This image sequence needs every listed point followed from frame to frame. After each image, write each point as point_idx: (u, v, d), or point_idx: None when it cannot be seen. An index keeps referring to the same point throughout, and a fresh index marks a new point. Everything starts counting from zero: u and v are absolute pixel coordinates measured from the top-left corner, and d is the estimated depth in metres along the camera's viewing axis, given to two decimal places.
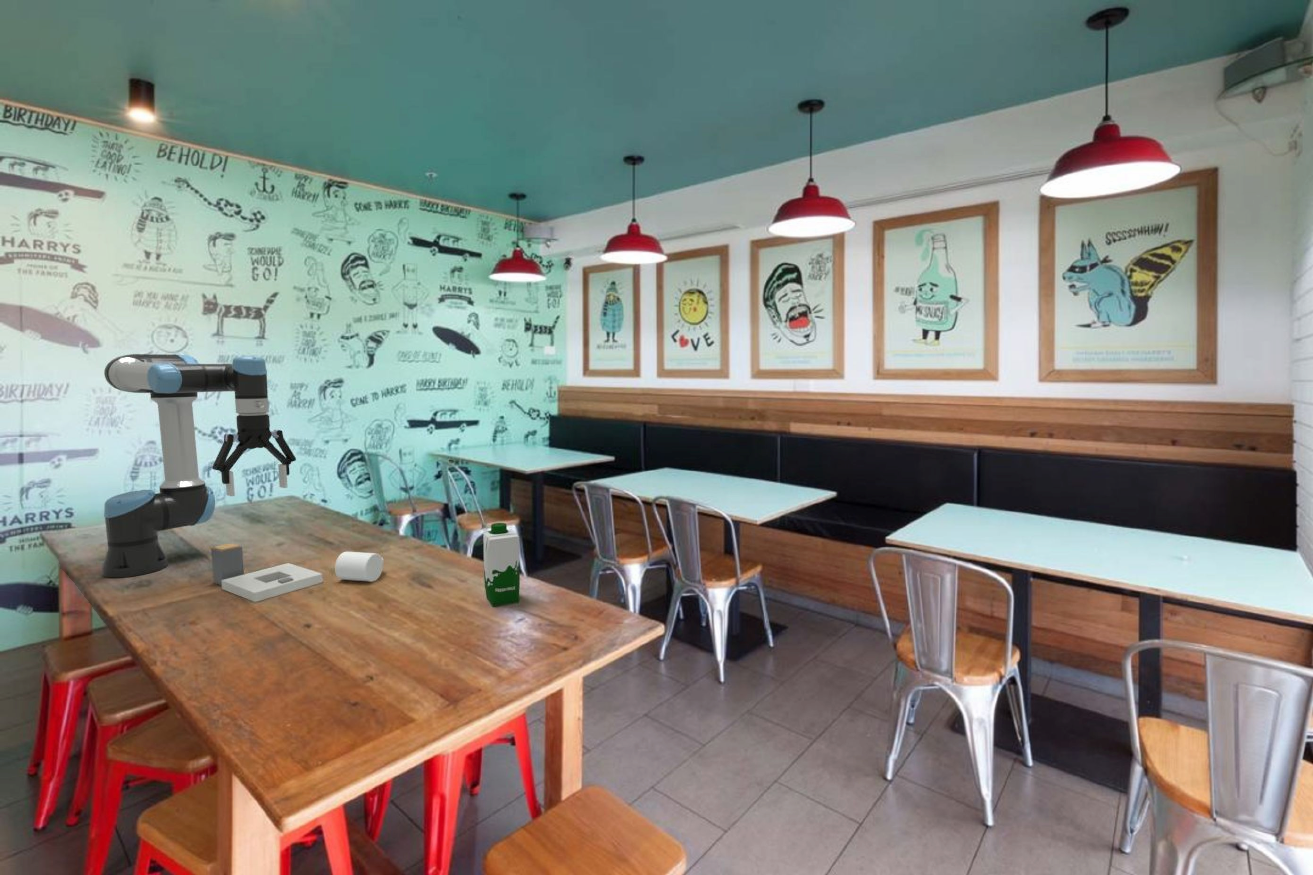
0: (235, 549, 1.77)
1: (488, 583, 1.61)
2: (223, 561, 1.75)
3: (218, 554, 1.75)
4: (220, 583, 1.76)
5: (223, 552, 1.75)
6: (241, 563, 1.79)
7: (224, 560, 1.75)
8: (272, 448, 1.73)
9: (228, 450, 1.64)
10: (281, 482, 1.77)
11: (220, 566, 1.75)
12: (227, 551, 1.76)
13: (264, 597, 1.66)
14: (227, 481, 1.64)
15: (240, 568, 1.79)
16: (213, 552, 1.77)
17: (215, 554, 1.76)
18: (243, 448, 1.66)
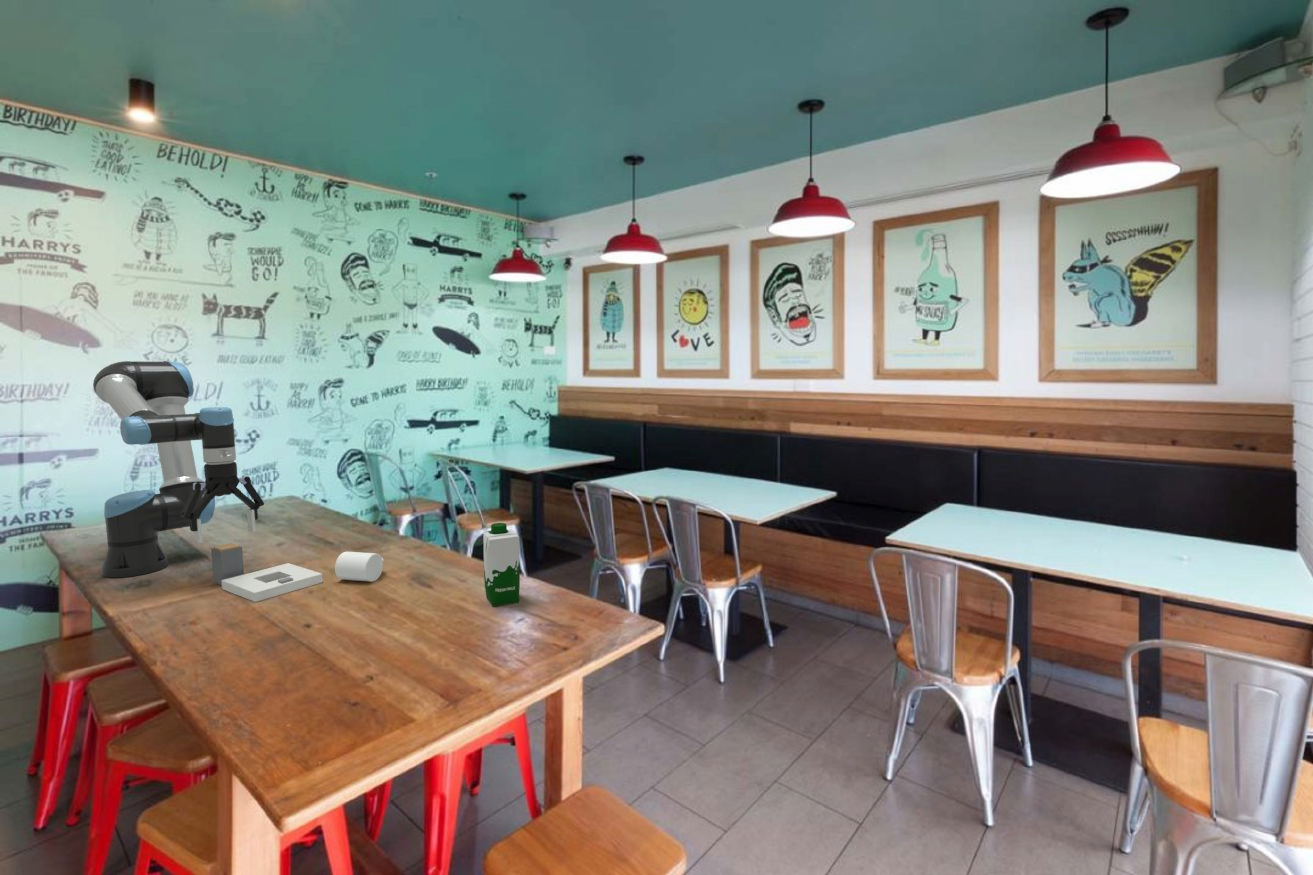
0: (235, 549, 1.77)
1: (488, 583, 1.61)
2: (223, 561, 1.75)
3: (218, 554, 1.75)
4: (220, 583, 1.76)
5: (223, 552, 1.75)
6: (241, 563, 1.79)
7: (224, 560, 1.75)
8: (240, 494, 1.79)
9: (195, 499, 1.69)
10: (250, 526, 1.83)
11: (220, 566, 1.75)
12: (227, 551, 1.76)
13: (264, 597, 1.66)
14: (195, 528, 1.70)
15: (240, 568, 1.79)
16: (213, 552, 1.77)
17: (215, 554, 1.76)
18: (210, 496, 1.72)
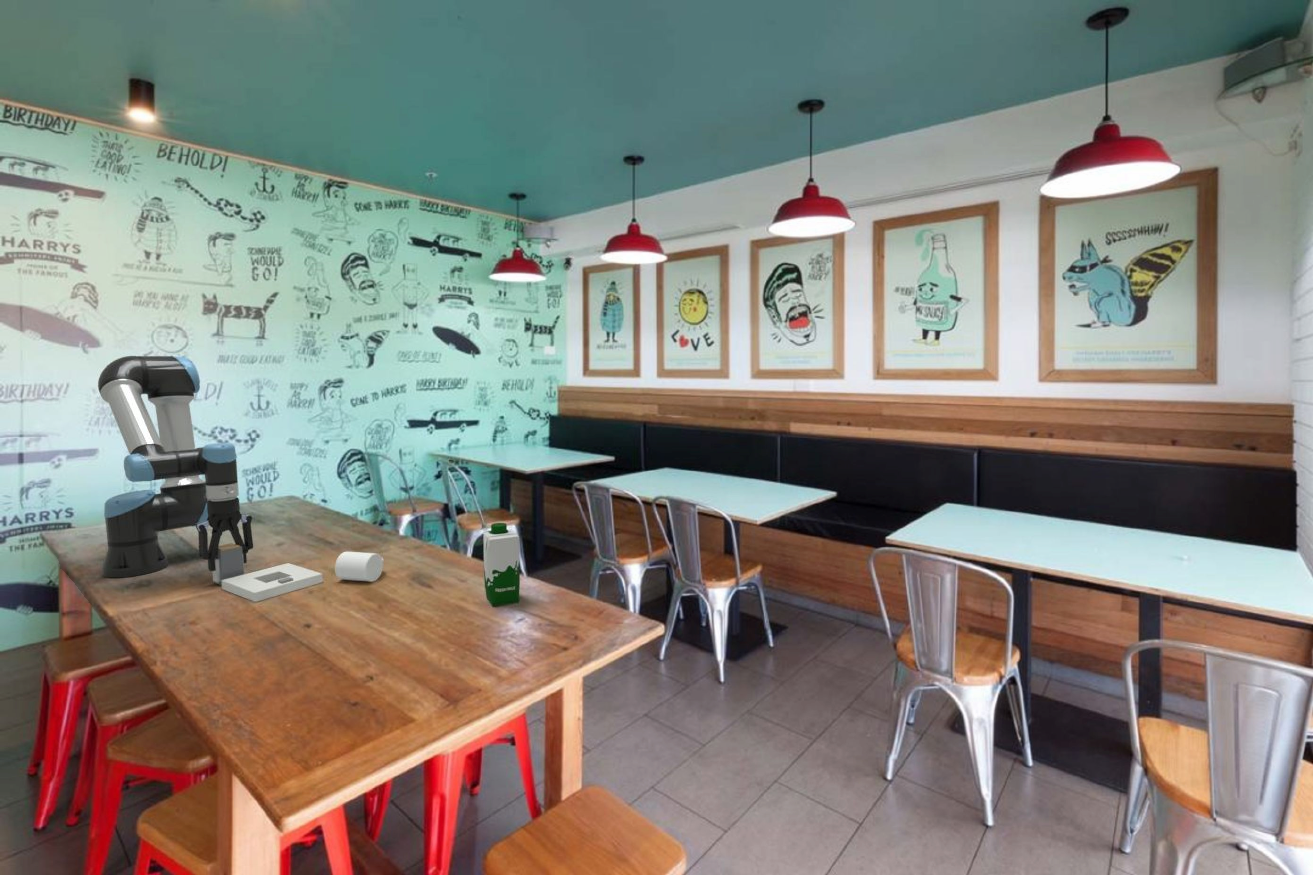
0: (235, 549, 1.77)
1: (488, 583, 1.61)
2: (223, 561, 1.75)
3: (218, 553, 1.75)
4: (220, 583, 1.76)
5: (223, 552, 1.75)
6: (241, 563, 1.79)
7: (224, 560, 1.75)
8: (236, 533, 1.79)
9: (206, 539, 1.72)
10: None
11: (220, 566, 1.75)
12: (227, 551, 1.76)
13: (264, 597, 1.66)
14: (213, 568, 1.75)
15: (240, 568, 1.79)
16: None
17: None
18: (218, 534, 1.75)
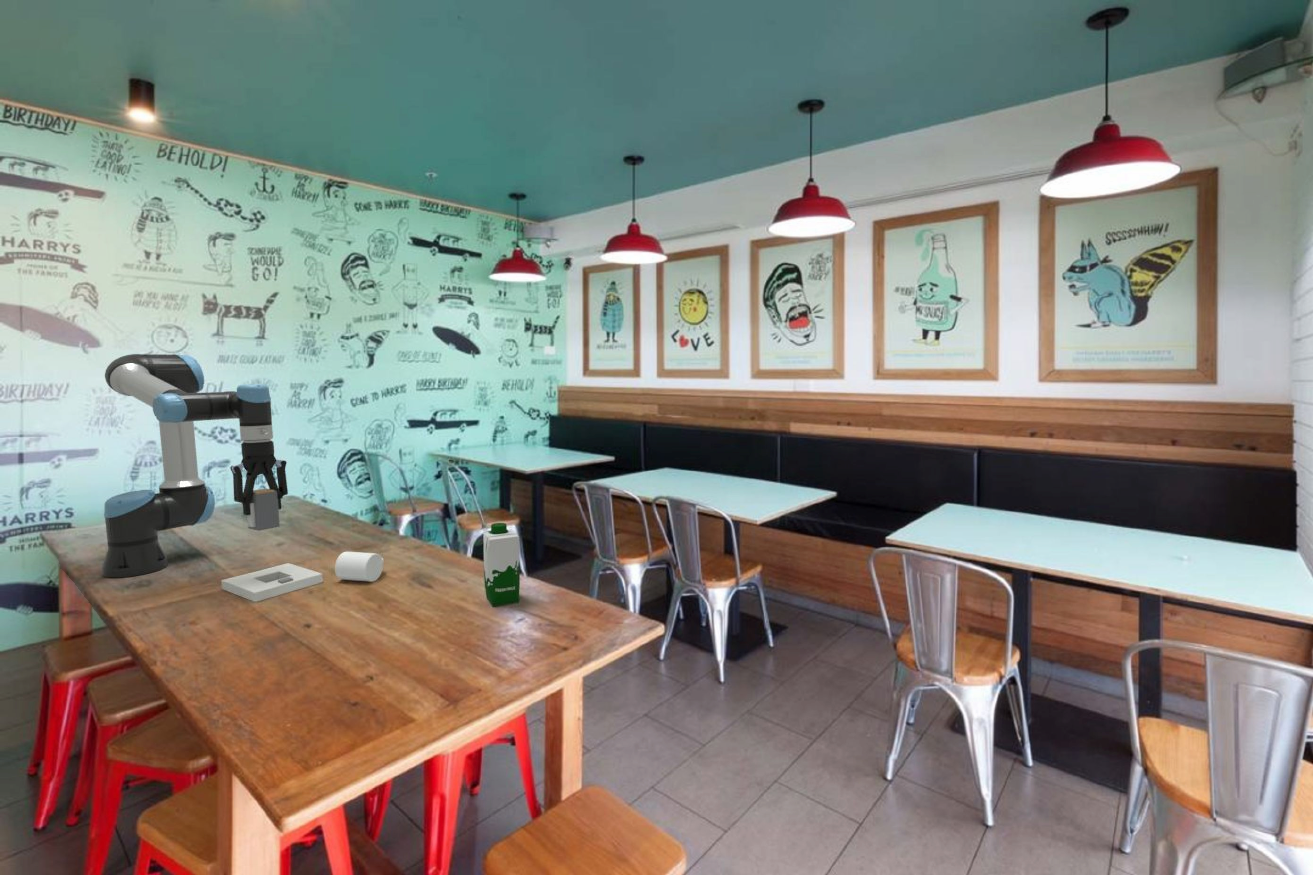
0: (270, 493, 1.72)
1: (488, 583, 1.61)
2: (258, 505, 1.70)
3: (253, 497, 1.70)
4: (255, 528, 1.71)
5: (258, 495, 1.70)
6: (276, 508, 1.74)
7: (259, 504, 1.70)
8: (271, 477, 1.74)
9: (241, 481, 1.67)
10: None
11: (255, 510, 1.70)
12: (262, 495, 1.71)
13: (264, 597, 1.66)
14: (248, 512, 1.70)
15: (275, 513, 1.74)
16: None
17: None
18: (253, 477, 1.70)
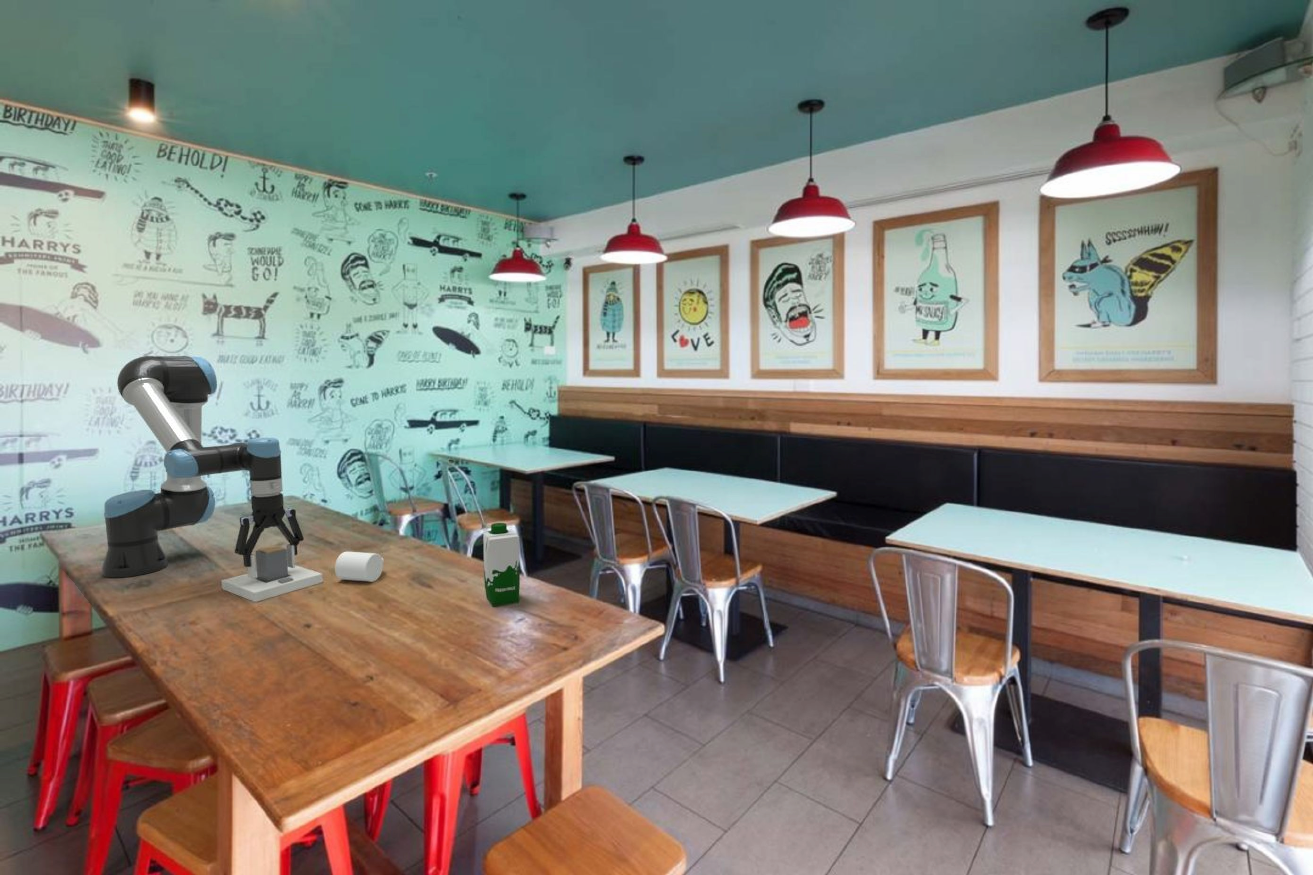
0: (280, 551, 1.74)
1: (488, 583, 1.61)
2: (268, 564, 1.72)
3: (263, 556, 1.72)
4: None
5: (268, 554, 1.72)
6: (285, 566, 1.76)
7: (269, 562, 1.72)
8: (283, 527, 1.76)
9: (246, 534, 1.68)
10: (289, 562, 1.80)
11: (265, 569, 1.72)
12: (272, 553, 1.73)
13: (264, 597, 1.66)
14: (249, 564, 1.70)
15: (284, 570, 1.76)
16: (257, 554, 1.73)
17: (260, 556, 1.73)
18: (260, 529, 1.71)
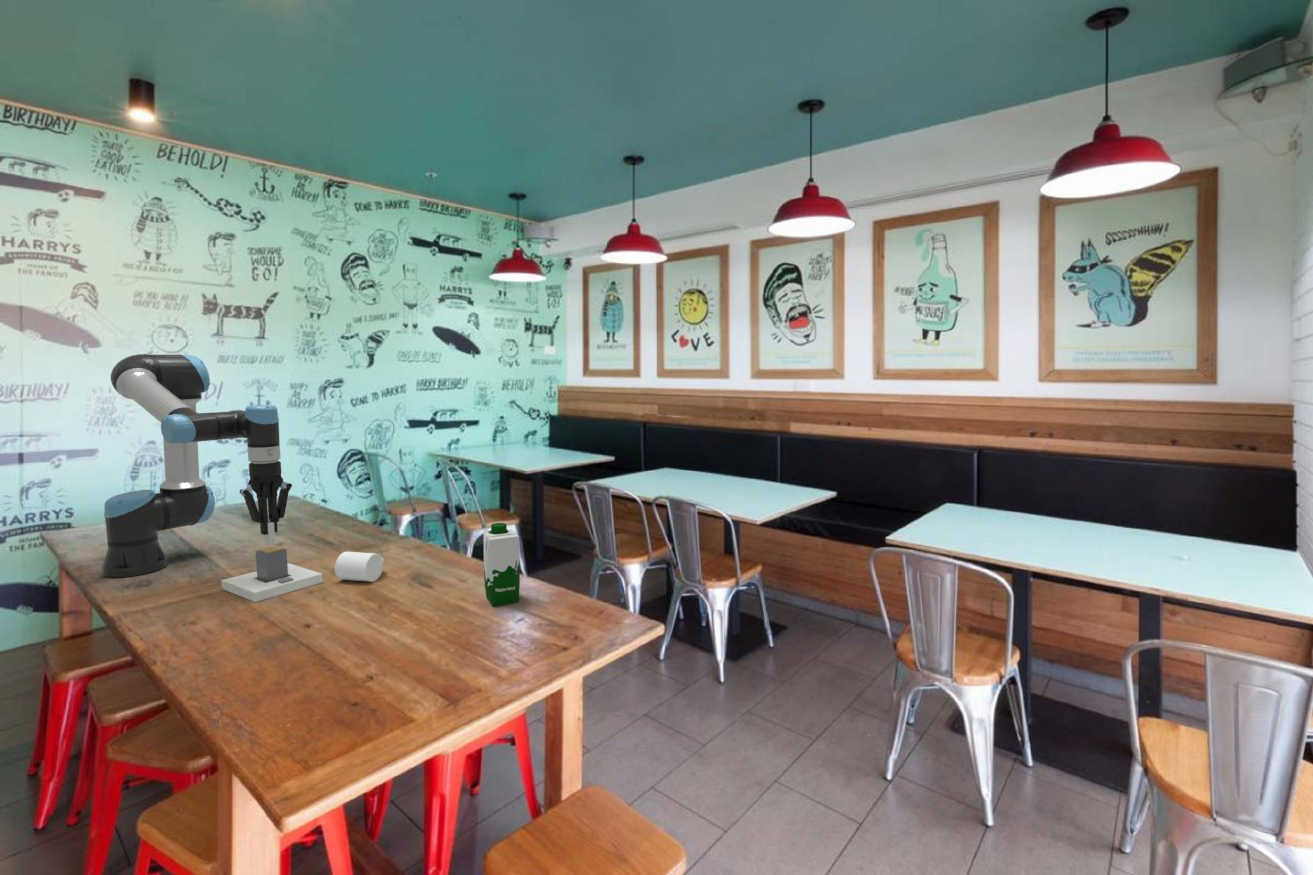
0: (280, 551, 1.74)
1: (488, 583, 1.61)
2: (268, 564, 1.72)
3: (263, 556, 1.72)
4: None
5: (268, 554, 1.72)
6: (285, 566, 1.76)
7: (269, 562, 1.72)
8: (273, 499, 1.74)
9: (253, 503, 1.69)
10: None
11: (265, 569, 1.72)
12: (272, 553, 1.73)
13: (264, 597, 1.66)
14: (265, 532, 1.73)
15: (284, 570, 1.76)
16: (257, 554, 1.73)
17: (260, 556, 1.73)
18: (264, 498, 1.71)
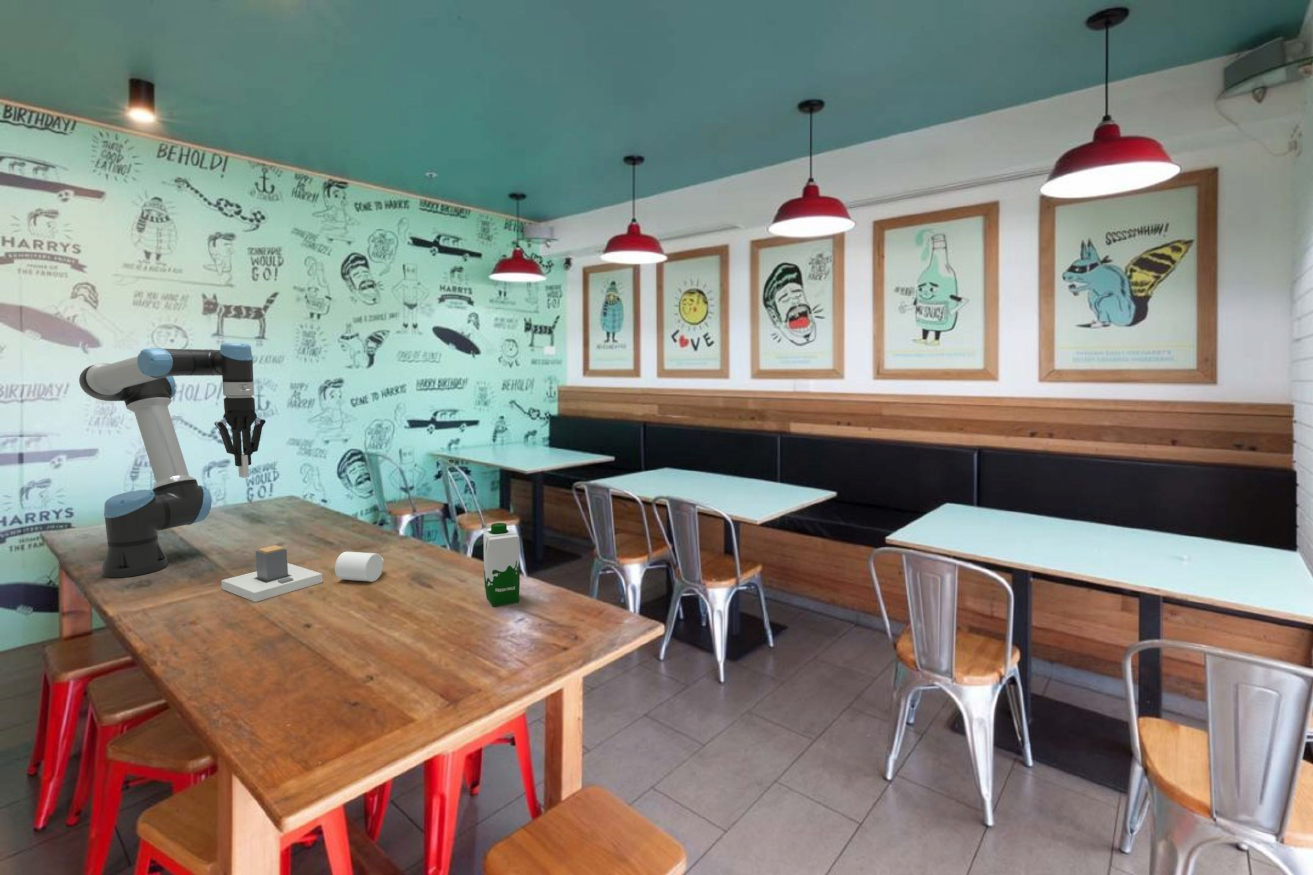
0: (280, 551, 1.74)
1: (488, 583, 1.61)
2: (268, 564, 1.72)
3: (263, 556, 1.72)
4: None
5: (268, 554, 1.72)
6: (285, 566, 1.76)
7: (269, 562, 1.72)
8: (247, 433, 1.83)
9: (228, 435, 1.79)
10: None
11: (265, 569, 1.72)
12: (272, 553, 1.73)
13: (264, 597, 1.66)
14: (239, 464, 1.83)
15: (284, 570, 1.76)
16: (257, 554, 1.73)
17: (260, 556, 1.73)
18: (238, 431, 1.81)
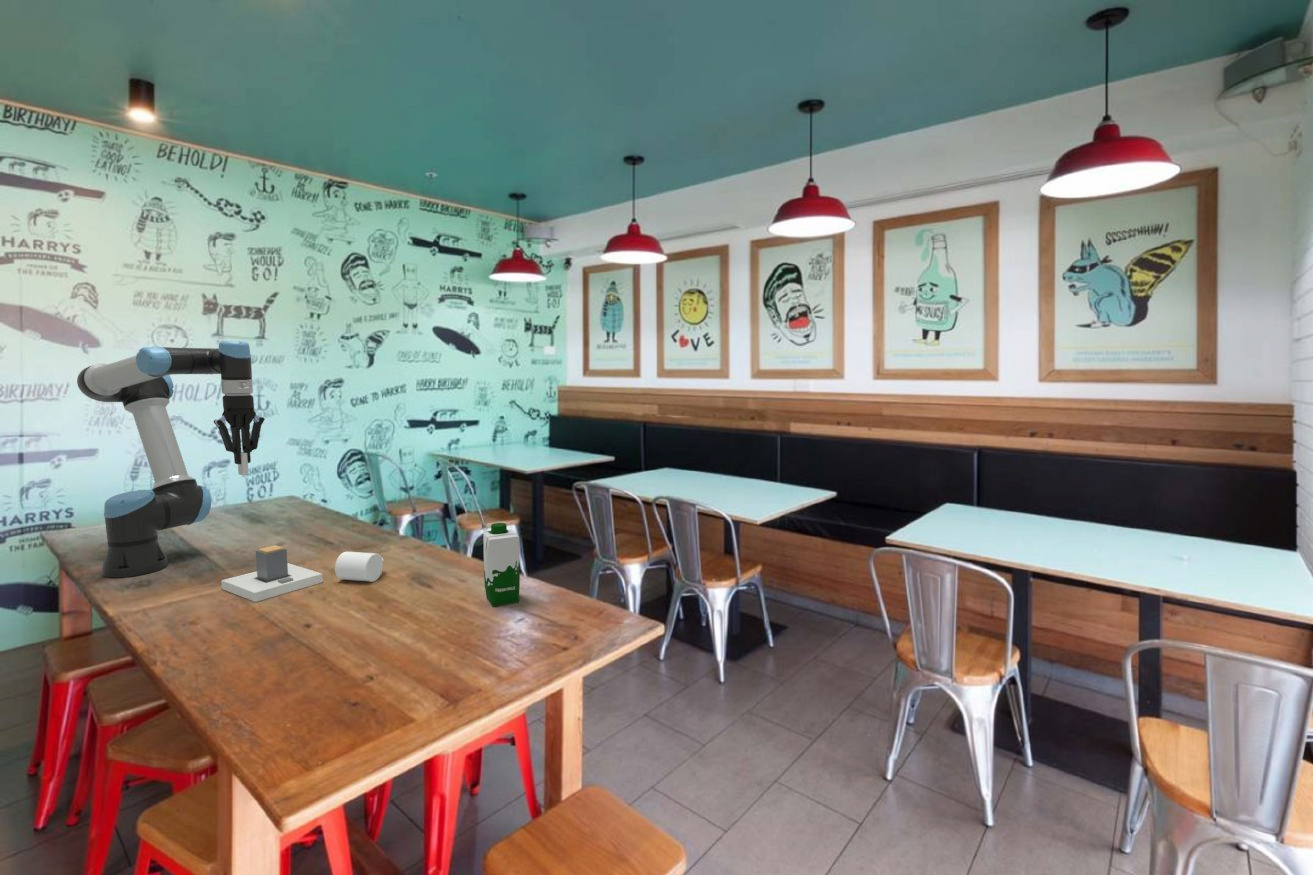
0: (280, 551, 1.74)
1: (488, 583, 1.61)
2: (268, 564, 1.72)
3: (263, 556, 1.72)
4: None
5: (268, 554, 1.72)
6: (285, 566, 1.76)
7: (269, 562, 1.72)
8: (246, 430, 1.84)
9: (227, 433, 1.80)
10: None
11: (265, 569, 1.72)
12: (272, 553, 1.73)
13: (264, 597, 1.66)
14: (239, 461, 1.83)
15: (284, 570, 1.76)
16: (257, 554, 1.73)
17: (260, 556, 1.73)
18: (237, 428, 1.81)
